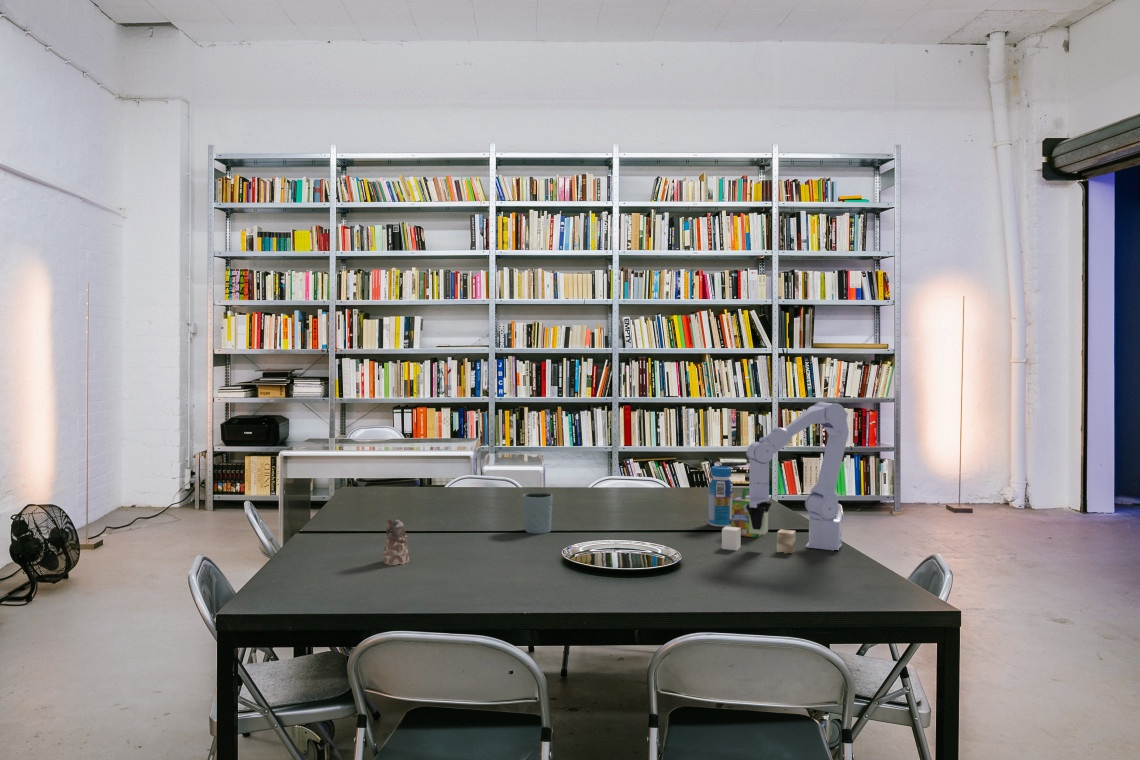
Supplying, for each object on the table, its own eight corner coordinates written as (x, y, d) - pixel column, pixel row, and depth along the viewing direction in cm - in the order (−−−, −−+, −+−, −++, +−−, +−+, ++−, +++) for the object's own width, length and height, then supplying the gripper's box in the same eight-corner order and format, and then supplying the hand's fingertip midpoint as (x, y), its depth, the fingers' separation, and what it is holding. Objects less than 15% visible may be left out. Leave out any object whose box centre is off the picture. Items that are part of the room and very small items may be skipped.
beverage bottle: (703, 524, 265) (703, 466, 264) (719, 521, 270) (720, 464, 269) (721, 528, 258) (722, 469, 257) (738, 525, 263) (738, 467, 262)
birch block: (795, 550, 229) (795, 530, 229) (792, 554, 225) (792, 533, 225) (780, 548, 231) (780, 529, 231) (776, 552, 227) (777, 532, 227)
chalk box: (730, 535, 248) (731, 490, 248) (738, 529, 257) (738, 485, 256) (759, 538, 244) (759, 492, 244) (765, 532, 252) (766, 488, 252)
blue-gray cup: (540, 535, 247) (541, 498, 247) (516, 531, 253) (516, 495, 252) (558, 529, 255) (558, 493, 255) (534, 525, 261) (534, 490, 261)
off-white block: (740, 547, 233) (740, 527, 233) (736, 550, 229) (736, 530, 229) (726, 545, 235) (726, 526, 235) (721, 548, 231) (721, 529, 231)
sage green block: (768, 531, 231) (768, 511, 230) (764, 534, 227) (764, 514, 226) (753, 529, 233) (753, 510, 233) (749, 532, 229) (749, 513, 229)
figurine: (396, 566, 209) (396, 523, 209) (377, 563, 213) (377, 520, 213) (414, 561, 215) (414, 518, 215) (395, 557, 219) (395, 515, 219)
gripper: (752, 478, 237) (751, 521, 238) (739, 484, 225) (739, 530, 225) (774, 479, 234) (774, 523, 235) (763, 486, 221) (763, 533, 222)
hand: (758, 527), depth 230 cm, fingers closed on sage green block, 4 cm apart
